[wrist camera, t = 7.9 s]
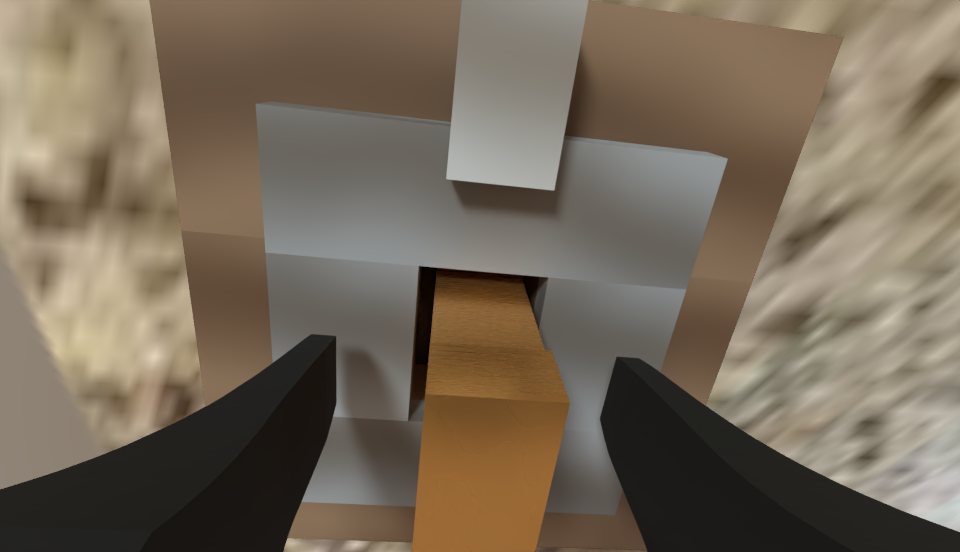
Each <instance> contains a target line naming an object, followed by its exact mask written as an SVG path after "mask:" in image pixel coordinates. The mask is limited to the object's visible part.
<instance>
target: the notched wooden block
mask: <svg viewBox="0 0 960 552" xmlns="http://www.w3.org/2000/svg"><path fill="white" fill-rule="evenodd" d="M569 405H570V402H569V399H568V396H567V393H566V390H565V387H564V384H563V381H562V379H561V376H560V373H559V370H558V367H557V364H556V361H555V358H554V355H553V353H552V351H546V350H545V349H544V346H543V343H542V339H541V336H540V333H539V330H538V327H537V324H536V321H535V318H534V315H533V312H532V308H531V305H530V302H529V299H528V296H527V293H526V290H525V287H524V284H523V281H522V277H521V275H515V274H504V273H492V272H481V271H470V270H458V269H447V268H437V275H436V285H435V296H434V307H433V318H432V329H431V339H430V349H429V360H428V371H427V381H426V392H425V404H424V415H423V427H422V439H421V450H420V462H419V474H418V486H417V497H416V509H415V521H414V533H413V544H412V552H535V551H536V546H537V542H538V538H539V534H540V529H541V525H542V521H543V516H544V512H545V508H546V504H547V499H548V495H549V491H550V487H551V482H552V478H553V474H554V469H555V465H556V461H557V457H558V452H559V448H560V444H561V440H562V435H563V431H564V427H565V423H566V418H567V414H568V410H569Z"/></svg>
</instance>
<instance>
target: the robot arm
mask: <svg viewBox="0 0 960 552" xmlns="http://www.w3.org/2000/svg"><path fill="white" fill-rule="evenodd" d="M336 403H337V383H336V336H331V335H318V334H311V335H309V336H308V337H306V338H305V339H304V340H302V341H301V342H300V343H298V344H297V345H296V346H295V347H293V348H292V349H291V350H289V351H288V352H287V353H285V354H284V355H283V356H281V357H280V358H279V359H277V360H276V361H275V362H273V363H272V364H270V365H269V366H268V367H266V368H265V369H264V370H262V371H261V372H260V373H258V374H257V375H255V376H254V377H252V378H251V379H249V380H247V381H246V382H244V383H243V384H241V385H240V386H238V387H237V388H235V389H234V390H232V391H231V392H229V393H228V394H226V395H225V396H223V397H221V398H220V399H218V400H216V401H215V402H213V403H211V404H209V405H208V406H206V407H204V408H202V409H200V410H199V411H197V412H195V413H193V414H191V415H189V416H187V417H186V418H184V419H182V420H180V421H178V422H176V423H174V424H172V425H170V426H167V427H165V428H163V429H161V430H159V431H156V432H154V433H152V434H150V435H148V436H146V437H143V438H141V439H139V440H137V441H135V442H132V443H130V444H128V445H126V446H123V447H121V448H118V449H116V450H113V451H111V452H108V453H106V454H103V455H101V456H98V457H96V458H93V459H91V460H88V461H85V462H82V463H80V464H77V465H74V466H71V467H69V468H66V469H63V470H60V471H58V472H54V473H51V474H49V475H45V476H42V477H39V478H36V479H33V480H30V481H27V482H23V483H20V484H17V485H13V486H10V487H7V488H4V489H0V552H283V550H284V547H285V544H286V540H287V538H288V535H289V532H290V529H291V527H292V524H293V521H294V519H295V516H296V514H297V511H298V509H299V507H300V504H301V502H302V499H303V497H304V494H305V492H306V490H307V487H308V485H309V482H310V480H311V477H312V475H313V473H314V470H315V468H316V465H317V463H318V460H319V458H320V455H321V453H322V450H323V448H324V445H325V443H326V440H327V437H328V434H329V430H330V426H331V423H332V419H333V415H334V411H335V407H336ZM600 422H601V427H602V431H603V435H604V439H605V443H606V447H607V450H608V454H609V457H610V459H611V462H612V464H613V467H614V469H615V472H616V474H617V477H618V479H619V482H620V484H621V487H622V489H623V491H624V494H625V496H626V499H627V501H628V504H629V506H630V508H631V511H632V513H633V516H634V518H635V521H636V523H637V525H638V528H639V530H640V533H641V535H642V538H643V541H644V543H645V546H646V549H647V552H960V532H957V531H955V530H952V529H949V528H947V527H944V526H941V525H938V524H936V523H933V522H930V521H927V520H925V519H922V518H919V517H917V516H914V515H911V514H909V513H906V512H904V511H901V510H899V509H896V508H894V507H891V506H889V505H887V504H884V503H882V502H880V501H877V500H875V499H873V498H870V497H868V496H865V495H863V494H861V493H859V492H856V491H854V490H852V489H850V488H848V487H845V486H843V485H841V484H839V483H837V482H835V481H833V480H831V479H829V478H827V477H825V476H823V475H821V474H819V473H817V472H815V471H813V470H811V469H809V468H807V467H805V466H803V465H801V464H799V463H797V462H795V461H793V460H791V459H790V458H788V457H786V456H784V455H782V454H781V453H779V452H777V451H775V450H774V449H772V448H770V447H769V446H767V445H765V444H763V443H762V442H760V441H758V440H756V439H755V438H753V437H752V436H750V435H748V434H747V433H745V432H744V431H742V430H741V429H739V428H738V427H736V426H735V425H733V424H731V423H730V422H728V421H727V420H725V419H724V418H722V417H721V416H719V415H718V414H717V413H715V412H714V411H712V410H711V409H709V408H708V407H707V406H705V405H704V404H702V403H701V402H700V401H698V400H697V399H696V398H694V397H693V396H691V395H690V394H689V393H687V392H686V391H685V390H683V389H682V388H681V387H679V386H678V385H677V384H675V383H674V382H673V381H671V380H670V379H669V378H667V377H666V376H665V375H663V374H662V373H660V372H659V371H658V370H656V369H655V368H653V367H652V366H651V365H649V364H648V363H646V362H645V361H643V360H641V359H640V358H630V357H616V360H615V364H614V368H613V371H612V375H611V379H610V383H609V386H608V390H607V394H606V397H605V401H604V405H603V409H602V412H601V416H600Z"/></svg>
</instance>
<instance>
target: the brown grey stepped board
mask: <svg viewBox="0 0 960 552" xmlns="http://www.w3.org/2000/svg"><path fill="white" fill-rule="evenodd" d="M150 7H151V14H152V21H153V29H154V36H155V43H156V50H157V58H158V65H159V72H160V79H161V87H162V94H163V101H164V108H165V116H166V123H167V130H168V137H169V145H170V152H171V159H172V166H173V174H174V181H175V188H176V195H177V203H178V210H179V217H180V224H181V231H182V239H183V246H184V253H185V260H186V268H187V275H188V282H189V289H190V297H191V304H192V311H193V318H194V326H195V333H196V340H197V347H198V355H199V362H200V369H201V376H202V384H203V391H204V398H205V405H206V406H208V405H209V404H211V403H213V402H215V401H216V400H218V399H220V398H221V397H223V396H225V395H226V394H228V393H229V392H231V391H232V390H234V389H235V388H237V387H238V386H240V385H241V384H243V383H244V382H246V381H247V380H249V379H251V378H252V377H254V376H255V375H257V374H258V373H260V372H261V371H262V370H264V369H265V368H266V367H268V366H269V365H270V364H272V363H273V362H275V361H276V360H277V359H279V358H280V357H281V356H283V355H284V354H285V353H287V352H288V351H289V350H291V349H292V348H293V347H295V346H296V345H297V344H298V343H300V342H301V341H302V340H304V339H305V338H306V337H308V336H309V335H311V334H318V335H331V336H336V383H337V403H336V407H335V411H334V415H333V419H332V423H331V426H330V430H329V434H328V437H327V440H326V443H325V445H324V448H323V450H322V453H321V455H320V458H319V460H318V463H317V465H316V468H315V470H314V473H313V475H312V477H311V480H310V482H309V485H308V487H307V490H306V492H305V494H304V497H303V499H302V502H301V504H300V507H299V509H298V511H297V514H296V516H295V519H294V521H293V524H292V527H291V529H290V532H289V535H288V538H302V539H331V540H359V541H388V542H413V533H414V521H415V509H416V497H417V486H418V474H419V462H420V450H421V439H422V427H423V415H424V404H425V392H426V381H427V371H428V365H426V364H416V351H417V337H418V324H419V310H420V297H421V283H422V270H423V266H424V267H436V268H447V269H458V270H470V271H481V272H492V273H504V274H515V275H526V276H525V282H524V287H525V290H526V293H527V296H528V299H529V302H530V305H531V308H532V312H533V315H534V318H535V321H536V324H537V327H538V330H539V333H540V336H541V339H542V343H543V346H544V349H545V350H546V351H552V353H553V355H554V358H555V361H556V364H557V367H558V370H559V373H560V376H561V379H562V381H563V384H564V387H565V390H566V393H567V396H568V399H569V402H570V405H569V410H568V414H567V418H566V423H565V427H564V431H563V435H562V440H561V444H560V448H559V452H558V457H557V461H556V465H555V469H554V474H553V478H552V482H551V487H550V491H549V495H548V499H547V504H546V508H545V512H544V516H543V521H542V525H541V529H540V534H539V538H538V542H537V546H536V547H560V548H589V549H617V550H646V551H647V549H646V546H645V543H644V541H643V538H642V535H641V533H640V530H639V528H638V525H637V523H636V521H635V518H634V516H633V513H632V511H631V508H630V506H629V504H628V501H627V499H626V496H625V494H624V491H623V489H622V487H621V484H620V482H619V479H618V477H617V474H616V472H615V469H614V467H613V464H612V462H611V459H610V457H609V454H608V450H607V447H606V443H605V439H604V435H603V431H602V427H601V422H600V416H601V412H602V409H603V405H604V401H605V397H606V394H607V390H608V386H609V383H610V379H611V375H612V371H613V368H614V364H615V360H616V357H630V358H640V359H641V360H643V361H645V362H646V363H648V364H649V365H651V366H652V367H653V368H655V369H656V370H658V371H659V372H660V373H662V374H663V375H665V376H666V377H667V378H669V379H670V380H671V381H673V382H674V383H675V384H677V385H678V386H679V387H681V388H682V389H683V390H685V391H686V392H687V393H689V394H690V395H691V396H693V397H694V398H696V399H697V400H698V401H700V402H701V403H702V404H704V405H705V406H706V404H707V401H708V398H709V396H710V393H711V390H712V388H713V385H714V382H715V380H716V377H717V374H718V372H719V369H720V366H721V364H722V361H723V358H724V356H725V353H726V350H727V348H728V345H729V342H730V340H731V337H732V334H733V332H734V329H735V326H736V324H737V321H738V318H739V316H740V313H741V310H742V308H743V305H744V302H745V300H746V297H747V294H748V292H749V289H750V286H751V284H752V281H753V278H754V276H755V273H756V270H757V268H758V265H759V262H760V260H761V257H762V254H763V252H764V249H765V246H766V244H767V241H768V238H769V236H770V233H771V230H772V227H773V225H774V222H775V219H776V217H777V214H778V211H779V209H780V206H781V203H782V201H783V198H784V195H785V193H786V190H787V187H788V185H789V182H790V179H791V177H792V174H793V171H794V169H795V166H796V163H797V161H798V158H799V155H800V153H801V150H802V147H803V145H804V142H805V139H806V137H807V134H808V131H809V129H810V126H811V123H812V121H813V118H814V115H815V113H816V110H817V107H818V105H819V102H820V99H821V97H822V94H823V91H824V89H825V86H826V83H827V81H828V78H829V75H830V73H831V70H832V67H833V65H834V62H835V59H836V57H837V54H838V51H839V49H840V46H841V43H842V41H843V38H844V37H841V36H834V35H827V34H820V33H813V32H806V31H799V30H792V29H785V28H778V27H771V26H764V25H757V24H750V23H744V22H737V21H730V20H723V19H716V18H709V17H702V16H695V15H688V14H681V13H674V12H667V11H660V10H653V9H646V8H639V7H632V6H626V5H619V4H612V3H605V2H598V1H591V0H150Z"/></svg>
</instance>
